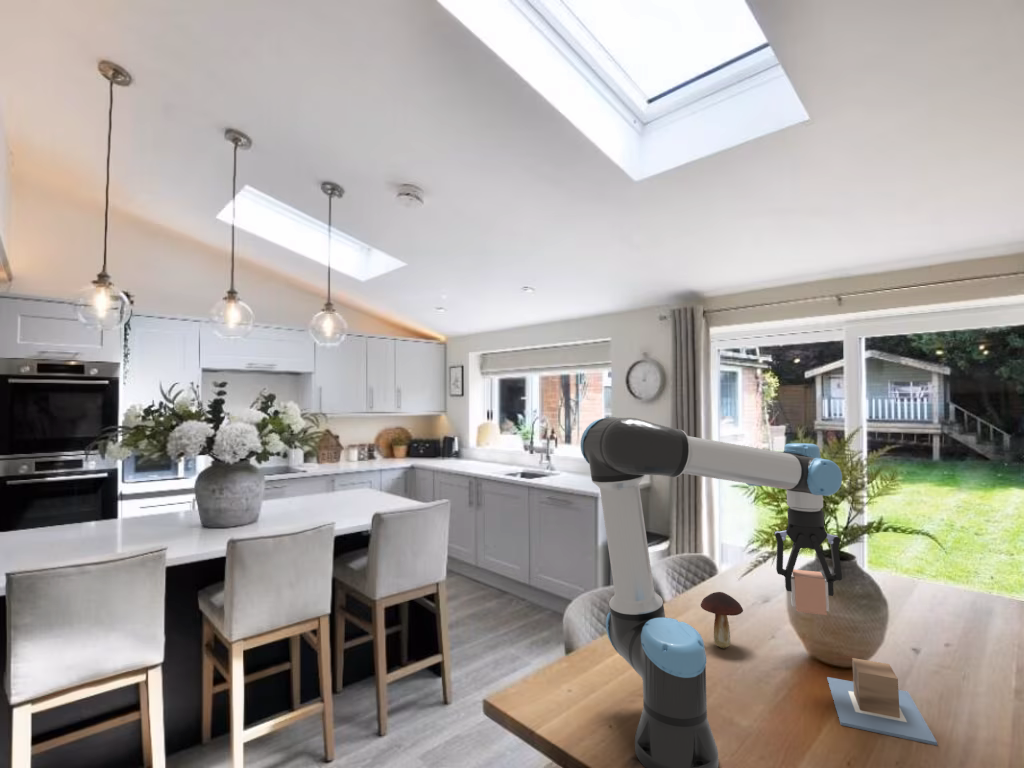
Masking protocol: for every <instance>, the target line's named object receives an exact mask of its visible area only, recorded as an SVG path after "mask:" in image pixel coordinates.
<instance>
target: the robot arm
mask: <svg viewBox="0 0 1024 768" xmlns="http://www.w3.org/2000/svg"><path fill="white" fill-rule="evenodd" d="M580 450H581V451H580V452H581V455H582V456H583V458H584V460H585V461H586V462H587V463H588V464H589V470H590V476H591V482H592V484H594V485H596V486H597V487H598V489H599V492H600V499H601V505H602V512H603V518H604V519H603V520H604V528H605V534H606V542H607V548H608V553H609V554H608V555H609V562H610V569H611V575H612V576H611V577H612V584H613V585H612V586H613V590H614V595H612V597H611V598H610V600H609V602H608V605H609V612H608V613H607V616H606V619H605V631H606V635H607V638H608V640H609V642H610V644H611V645H612V646H613V649H614V650H615V651H616V652H617V653H618V654H619V656H621V657H622V658H623V659H624V660H625V661H626V663H628V664H629V666H630V667H631V668H632V669H633V670H634V671H635V672H636V673H637V674H638V676H640V677H641V680H642V694H643V695H642V696H643V697H642V698H643V699H642V700H643V701H642V702H643V708H642V711H641V715H640V718H639V722H638V725H637V728H636V731H635V735H634V751H635V755H636V757H637V759H638V760H639V762H640V763H641V765H642V766H643V767H644V768H719V750H718V746H717V743H716V741H715V738H714V735H713V731H712V728H711V725H710V723H709V720H708V710H707V709H708V708H707V707H708V704H707V703H708V700H707V672H706V671H707V666H706V665H707V654H706V649H705V642H704V639H703V637H702V634H700V633H699V631H698V630H697V629H696V628H694V627H693V626H692V625H690V624H689V623H686V622H685V621H678V619H676V618H671V617H666V614H665V607H664V601H663V598H662V596H660V595H659V594H658V593H657V592H656V591H655V589H654V588H655V587H654V580H653V573H652V567H651V560H650V551H649V546H648V544H649V543H648V539H647V532H646V524H645V518H644V517H645V516H644V511H643V504H642V498H641V497H642V496H641V495H642V494H641V490H640V489H641V488H640V484H641V481H642V480H643V479H644V478H645V477H646V476H663V477H664V476H665V477H670V478H671V477H672V478H678V477H680V476H681V475H682V474H683V475H692V476H698V477H704V478H710V479H717V480H724V481H728V482H729V481H731V482H737V483H743V484H746V485H748V486H750V487H752V486H753V487H755V486H756V487H769V488H775V489H783V490H786V504H787V507H788V508H787V509H786V510H787V527H786V529H785V530H782V531H779V530H776V531H774V536H775V539H776V560H775V561H776V563H775V564H776V568H775V570H776V573H777V574H778V575H779V576H780V575H781V576H783V577H784V583H785V584H784V585H785V587H784V588H785V590H786V592H790V603H791V606H792V608H796V599H795V579H794V576H793V569H794V570H795V566H796V563H797V559H798V557H799V553H800V551H801V549H810V550H814V551H815V553H816V556H817V559H818V562H819V564H820V566H821V569H822V571H823V572H822V573H824V576H825V577H824V579H825V593H826V612H830V600H829V598H830V597H831V596H832V597H834V593H835V592H834V582H836V581H842V580H843V574H842V567H841V560H840V549H839V546H840V542H841V539H840V537H839V536H838V535H837V534H830V533H828V532H827V530H825V516H824V514H825V513H824V511H823V508H824V500H823V498H824V497H823V496H825V497H829V496H832V495H834V494H836V493H837V492H838V491H839V490H840V488H841V486H842V481H843V474H842V470H841V468H840V466H838V464H837V463H836V462H835V461H832V460H831V459H826V458H822V457H821V452H820V447H819V445H817V444H815V443H804V442H803V443H802V442H800V443H799V442H798V443H797V442H796V443H786V444H785V445H784V450H783V451H781V452H780V451H775V450H770V449H764V448H758V447H753V446H746V445H741V444H735V443H730V442H723V441H718V440H713V439H708V438H701V437H694V436H691V435H688V434H687V433H686V432H685V431H684V430H683V429H680V428H673V427H669V426H665V425H661V424H657V423H654V422H651V421H647V420H643V419H640V418H636V417H614V416H606V417H603V418H599V419H596V420H595V421H592V422H591V423H589V424H588V426H587V427H586V428H585V430H584V431H583V432H582V435H581V438H580ZM787 536H788V538H790V540H791V541H792V542H793V543H792V548H791V551H790V555H789V557H788V560H787V563H786V566H785V568H784V541H786V537H787ZM826 539H827V542H828V544H830V552H831V561H832V566H833V573H831V571H830V568H829V566H828V563H827V560H826V558H825V555H824V553H823V550H822V548H821V545H822V543H823V542H825V540H826Z"/></svg>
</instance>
